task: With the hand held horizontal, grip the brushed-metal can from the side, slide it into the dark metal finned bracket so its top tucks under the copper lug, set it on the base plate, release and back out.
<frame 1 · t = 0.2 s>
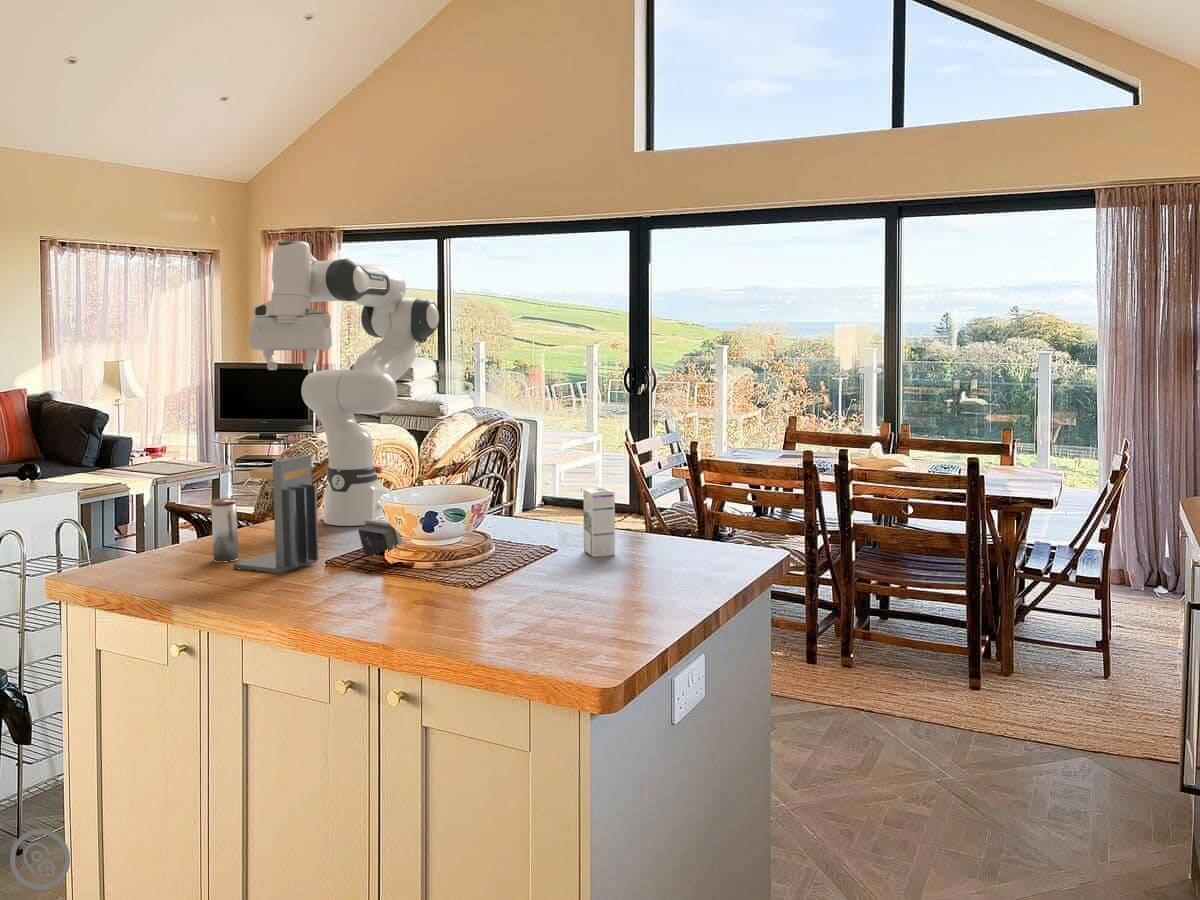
hand: (289, 369, 235), 40 cm above the worktop, tool pointing down, fingers open, 8 cm apart
syrup box: (599, 554, 226), on the worktop
electrical switch: (383, 563, 217), on the worktop
can: (226, 559, 219), on the worktop
bracket: (275, 564, 214), on the worktop
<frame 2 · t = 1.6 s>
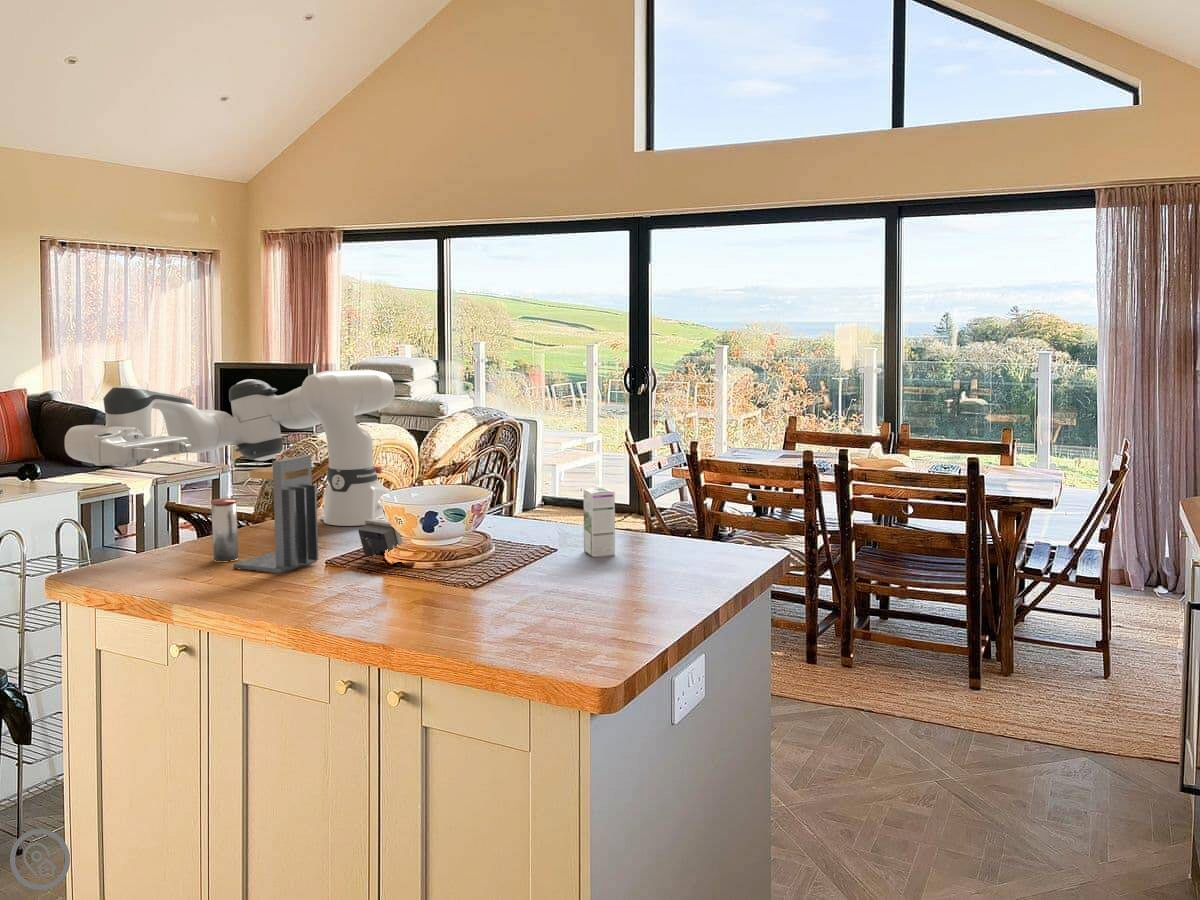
hand: (173, 451, 221), 23 cm above the worktop, tool horizontal, fingers open, 8 cm apart
nothing on the worktop moved.
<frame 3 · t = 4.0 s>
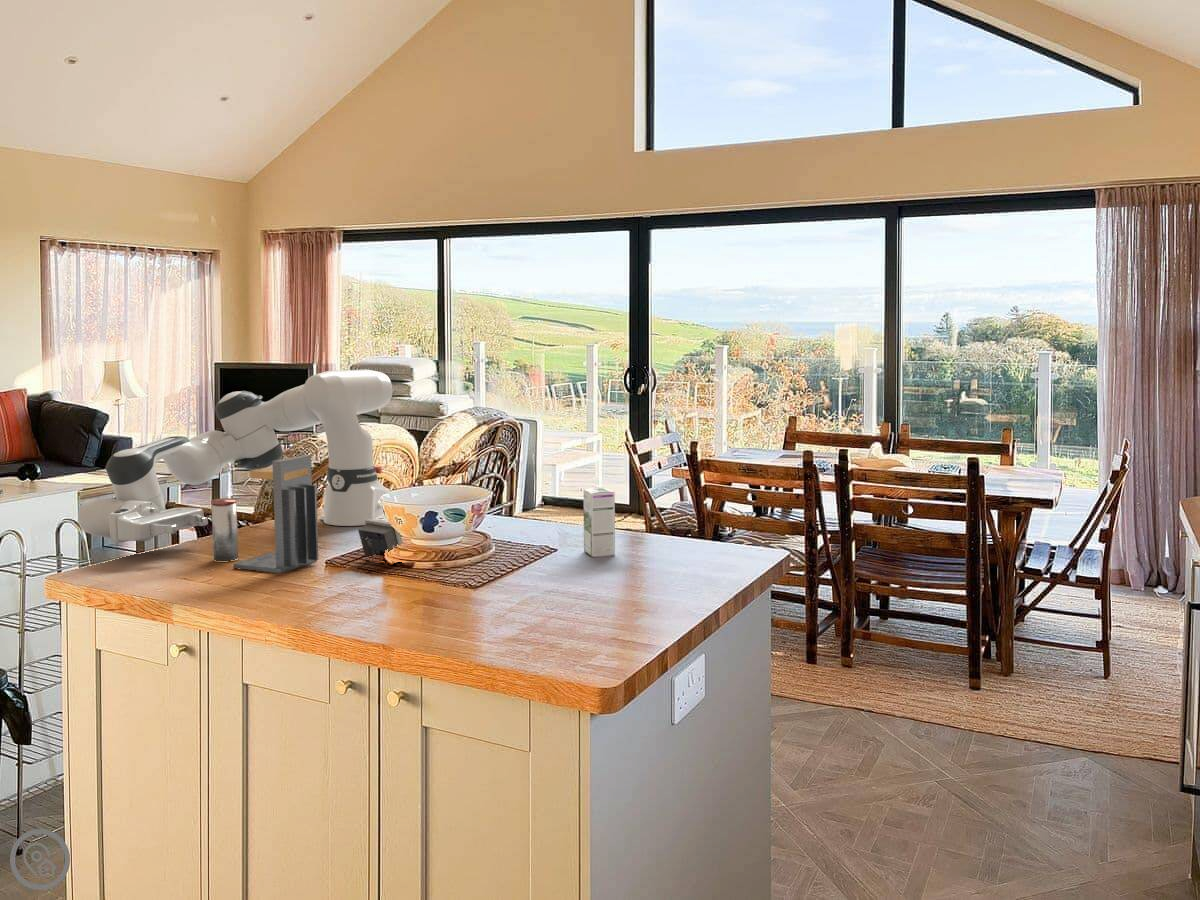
hand: (190, 525, 221), 7 cm above the worktop, tool horizontal, fingers open, 8 cm apart
nothing on the worktop moved.
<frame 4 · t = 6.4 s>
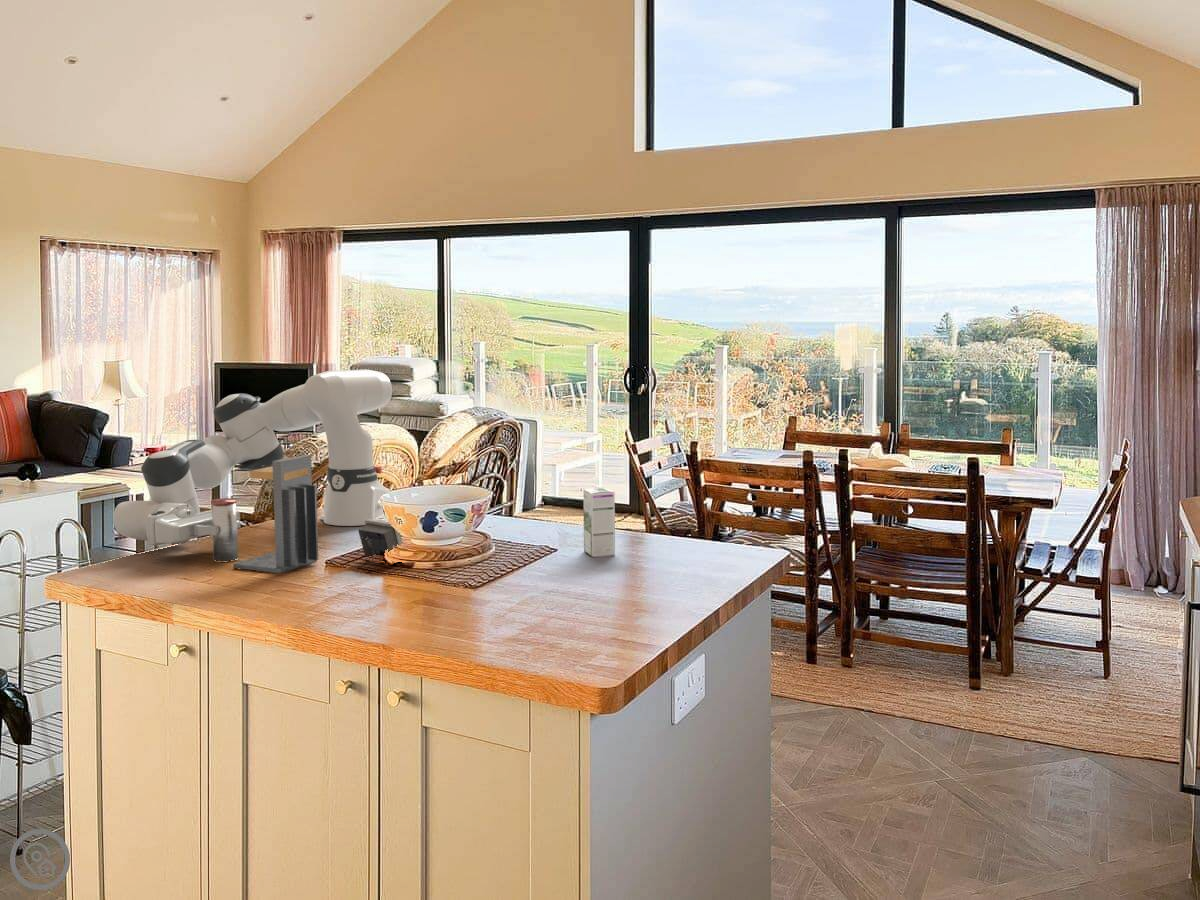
hand: (228, 527, 217), 7 cm above the worktop, tool horizontal, fingers closed on can, 5 cm apart
can: (226, 559, 219), on the worktop, touching gripper
everything else where it was.
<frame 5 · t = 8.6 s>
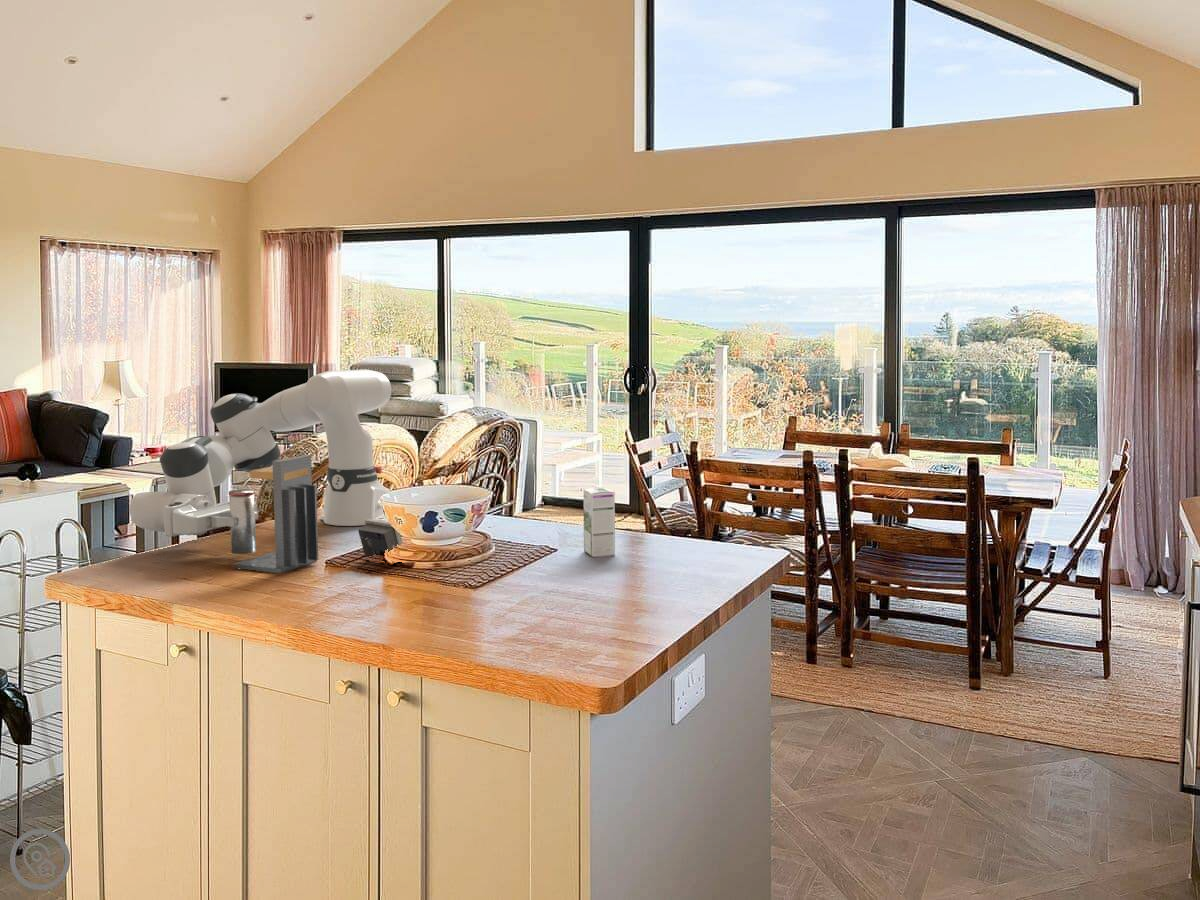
hand: (246, 519, 215), 9 cm above the worktop, tool horizontal, fingers closed on can, 5 cm apart
can: (243, 551, 216), point 2 cm above the worktop, touching gripper
everything else where it was.
when the fingers open (8 cm above the worktop, at t = 11.1 s): can stays where it is, resting on bracket.
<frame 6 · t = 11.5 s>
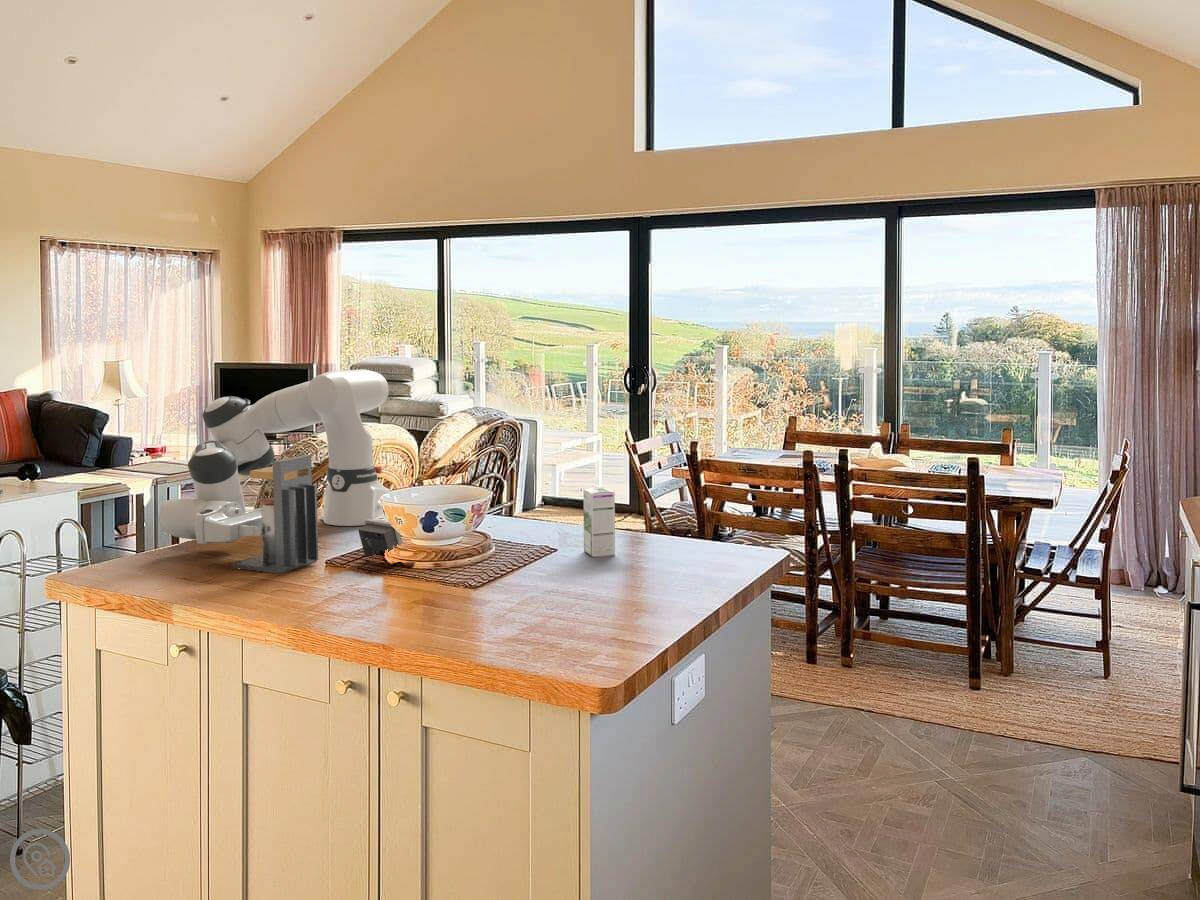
hand: (277, 526, 213), 8 cm above the worktop, tool horizontal, fingers open, 8 cm apart
can: (275, 560, 214), point 1 cm above the worktop, touching bracket
everything else where it was.
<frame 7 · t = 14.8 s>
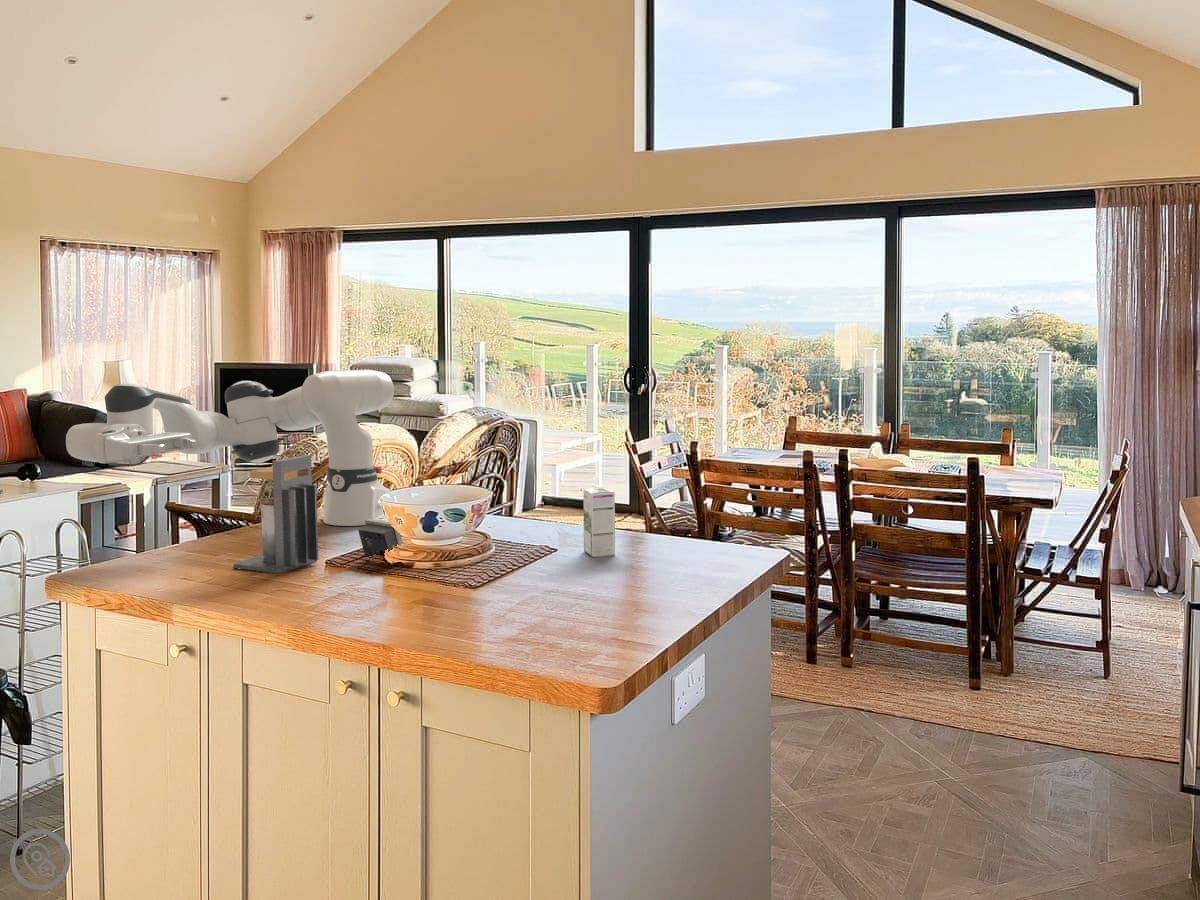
hand: (178, 446, 219), 24 cm above the worktop, tool horizontal, fingers open, 8 cm apart
nothing on the worktop moved.
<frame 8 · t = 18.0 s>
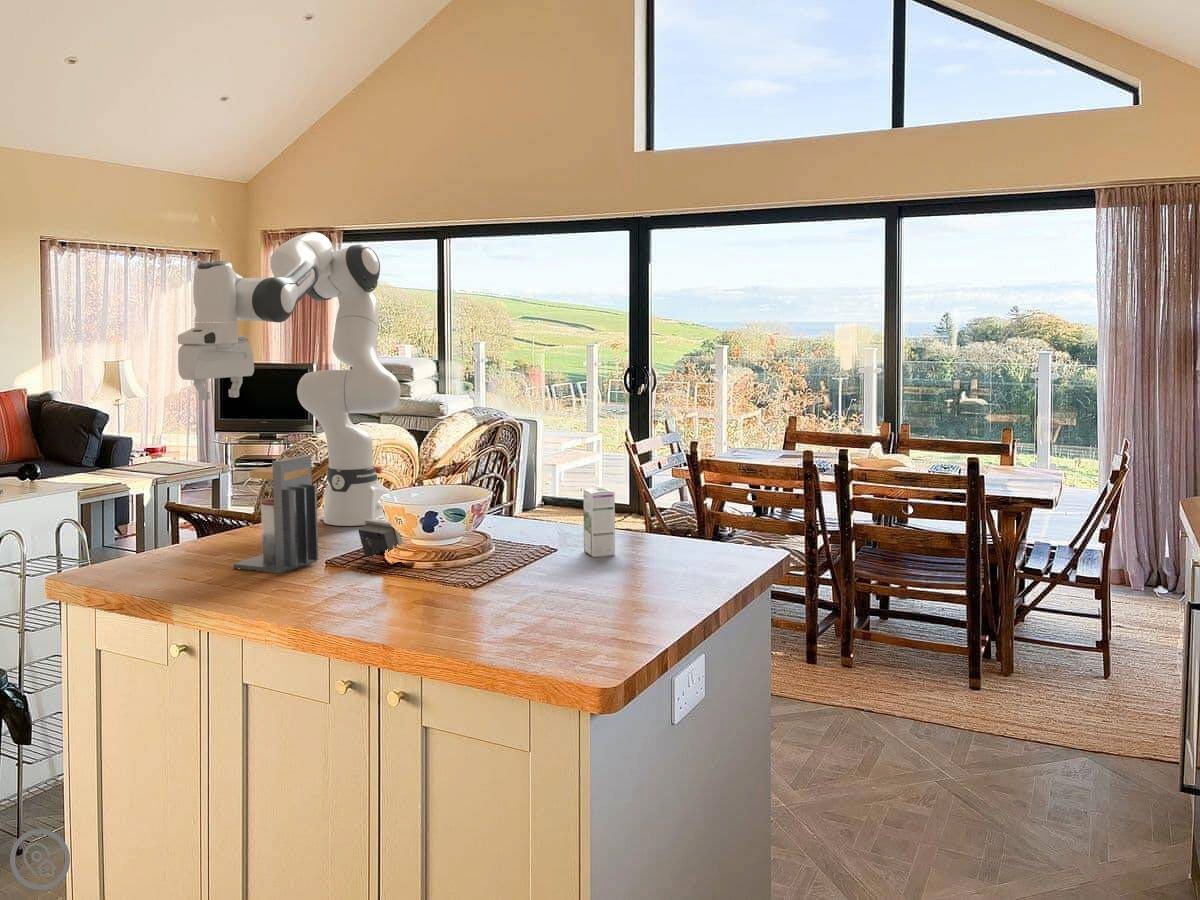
hand: (219, 398, 224), 34 cm above the worktop, tool pointing down, fingers open, 8 cm apart
nothing on the worktop moved.
at the end: can inside the target area on the bracket (0.5 cm from its centre), point 1.0 cm above the bracket's base; can tilted 0°; the gripper is holding nothing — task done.
